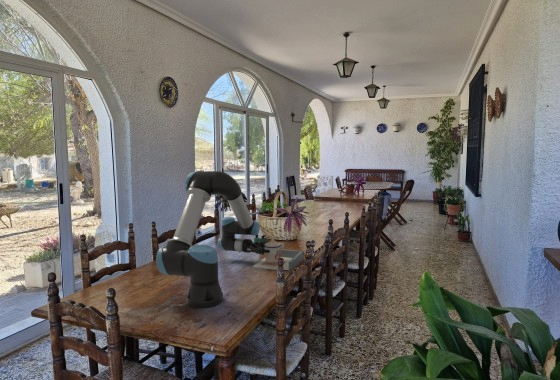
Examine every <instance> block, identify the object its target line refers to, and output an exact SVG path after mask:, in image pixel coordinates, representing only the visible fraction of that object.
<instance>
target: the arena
mask: <svg viewBox="0 0 560 380" xmlns="http://www.w3.org/2000/svg"><path fill="white" fill-rule="evenodd" d="M281 258H283V259H284V270H289V271H288V272H292V271H291V270H293V269H294V268H295V269H296V268H297V267H298V266H299V265H300V264H301V263H302V262H304V259H305V251H304V250H298V249H287V248H281ZM300 262H301V263H300ZM297 265H298V266H297ZM252 268H257V269H265V270H275V271H278V270H277V262H274V263H271V262H267V261H265V257H264V258H262V259H261V260H259V261H258V262H257V263H255V264H254V265H253V266H252ZM295 269H294V270H295ZM294 270H293V271H294Z"/></svg>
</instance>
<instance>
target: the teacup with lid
mask: <svg viewBox="0 0 560 380" xmlns="http://www.w3.org/2000/svg"><path fill="white" fill-rule="evenodd" d="M269 241H270V242H268V243H265V245H264V246H265V248H272V249H276V254H268V253H264V258H265V261H267V262H271V263H274V262H277V261H278V259H279V258H281V249H282V248H281V244H280V243H281V242H277V241H276V240H275V239H273V238H271V239H270V240H269Z"/></svg>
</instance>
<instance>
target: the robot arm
mask: <svg viewBox="0 0 560 380" xmlns="http://www.w3.org/2000/svg"><path fill="white" fill-rule="evenodd" d="M184 183H185V185H184V188H185V191H186V194H187V196H188V198H187V199H186V202H185V204H184V208H183V211H182V214H181V215H180V217H179V220H178V223H177V226H176V229H175V232H174V234H173V237H172V238H171V239H169V240H167V241H166V242H167V243H166V245H165V246H162V247H160V248H159V249H158V250H157V252H156V258H155V262H156V263H155V264H156V267H157V269H158V271H159V272H160V273H161V274H163V275H168V276H181V277H190V286H189V289H188V293H187V297H186V302H187V303H186V304H187V305H188V306H190V307H192V308H197V309H198V308H199V309H200V308H201V309H202V308H203V309H204V308H206V309H207V308H211V307H214V306H215V307H216V306H218V305H220V304H221V303H222V302H224V293H223V290H222V287H221V285H220V282H219V258H218V251H217V249H216V248H215V247H214V246H211V245H208V244H194V245H192V244H193V241H194V238H195V235H196V232H197V228H198V226H199V223H200V221H201V220H200V219H201V217H202V214H203V211H204V209H205V206H206V203H209V202H210V200H211V198H212V196H222V197H223V199H224V200H225V201H227V202H228V205H229V206H230V209H231V210H232V212H233V214H234V216H235V217H234V216H224V217H222V218H221V236H220V237H219V238H218V240H217V246H218V247H217V248H218V249H219V250H220V251H225V252H238V253H239V254H240V253H255V254H258V255H263V256H265V253H268V254H276V249H272V248H263V247H265V246H264V245H265V243H268V242H270V241H271V240H266V241H257V242H254V241H253V240H252V239H251V238H241V237H240V238H238V237H236V235H243V236H244V235H245V236H255V235H258V236H259V233H260V229H261V225H260V222H258V221H255V220H253V218H252V216H251V213H250V212H249V209H248V206H247V205H246V203H245V200H244V198H243V195H242V191H243V190H242V188H241V186H240V185H239V183H238V181H237V180H236V179H235V178H234V177H233V176H231V175H230V174H229V173H226V172H224V171H221V170H216V171H215V170H214V171H213V170H212V171H211V170H208V171H207V170H205V171H203V170H196V171H192V172H190V173H189V174H188V175H187V176H186V179H185V181H184ZM235 218H236V219H235ZM279 243H280V244H281V249H285V243H284V242H279Z"/></svg>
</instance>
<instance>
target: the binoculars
mask: <svg viewBox="0 0 560 380" xmlns="http://www.w3.org/2000/svg"><path fill="white" fill-rule="evenodd" d="M254 236H255V237H254V238H253V243H254V242H257V241H267V240H266V238H265V234H263V235H261V238H260V237H259V234H258V235H254ZM263 248H265V247H263Z"/></svg>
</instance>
